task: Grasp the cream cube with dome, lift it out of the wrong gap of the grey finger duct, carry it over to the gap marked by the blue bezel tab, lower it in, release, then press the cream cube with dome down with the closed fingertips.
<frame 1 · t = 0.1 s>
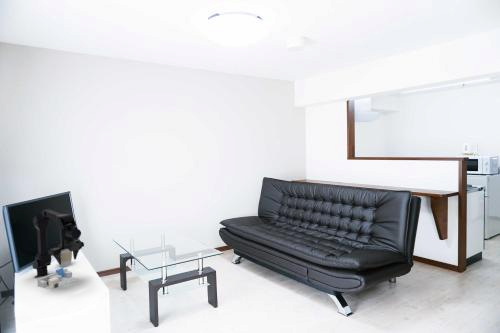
hand: (67, 262, 199), 14 cm above the tv stand, fingers open, 9 cm apart
cream cube with dome: (52, 285, 198), point 1 cm above the tv stand, touching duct
coffee cup: (65, 265, 232), on the tv stand
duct: (55, 281, 205), on the tv stand
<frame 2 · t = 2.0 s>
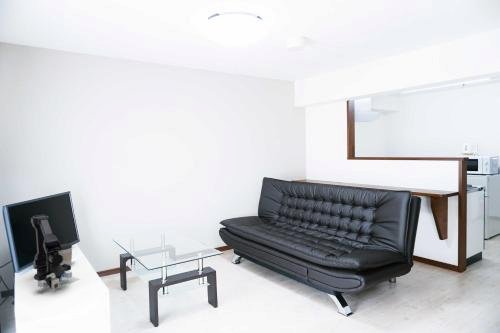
hand: (54, 286, 197), 1 cm above the tv stand, fingers closed on cream cube with dome, 4 cm apart
cream cube with dome: (52, 285, 198), point 1 cm above the tv stand, touching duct, gripper
everything else where it was.
when the fingers open (2 cm above the tv stand, at t = 6.0 s): cream cube with dome stays where it is, resting on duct.
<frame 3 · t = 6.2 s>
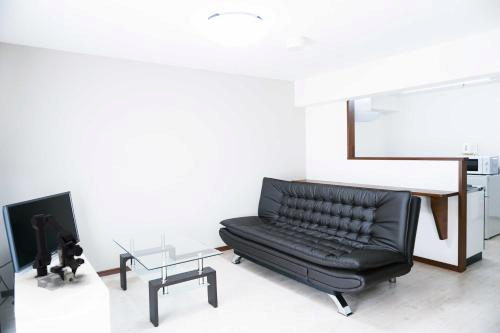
hand: (68, 279, 205), 2 cm above the tv stand, fingers open, 6 cm apart
cream cube with dome: (66, 279, 206), point 1 cm above the tv stand, touching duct
everything else where it was.
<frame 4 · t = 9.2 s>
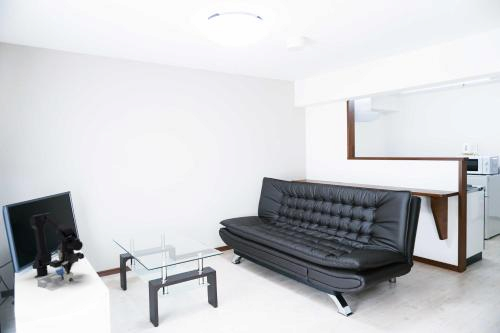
hand: (68, 273, 204), 5 cm above the tv stand, fingers closed, pressing on cream cube with dome
cream cube with dome: (66, 279, 206), point 1 cm above the tv stand, touching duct, gripper
everything else where it was.
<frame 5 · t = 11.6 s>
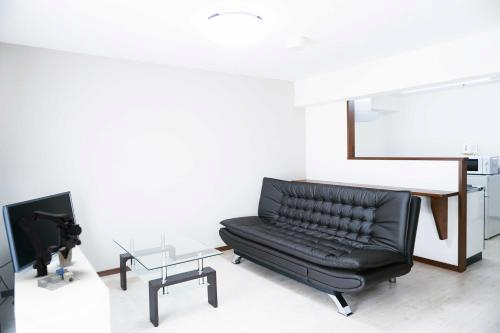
hand: (65, 259, 210), 12 cm above the tv stand, fingers closed
cream cube with dome: (66, 279, 206), point 1 cm above the tv stand, touching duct
everything else where it was.
at the end: cream cube with dome 0.8 cm from the target spot, point 1.0 cm above the tv stand; cream cube with dome tilted 0°; the gripper is holding nothing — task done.
